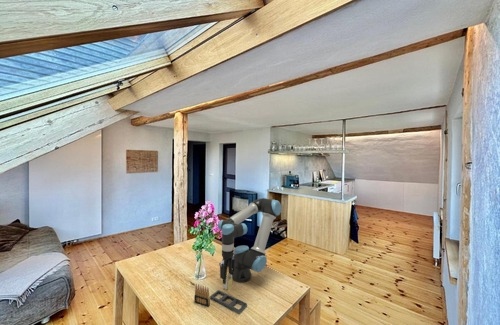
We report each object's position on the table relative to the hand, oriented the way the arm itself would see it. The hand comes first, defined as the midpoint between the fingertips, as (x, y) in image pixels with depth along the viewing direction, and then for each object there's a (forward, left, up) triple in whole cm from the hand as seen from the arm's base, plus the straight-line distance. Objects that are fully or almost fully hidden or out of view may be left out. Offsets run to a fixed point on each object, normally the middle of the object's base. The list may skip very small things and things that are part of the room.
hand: (227, 286), depth 128 cm
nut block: (0, 0, -2) cm, 2 cm away
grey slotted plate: (0, 0, -11) cm, 11 cm away
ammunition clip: (+10, -13, -11) cm, 20 cm away
